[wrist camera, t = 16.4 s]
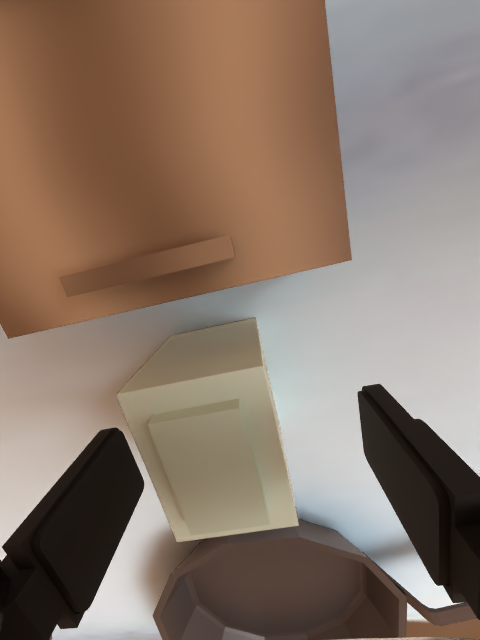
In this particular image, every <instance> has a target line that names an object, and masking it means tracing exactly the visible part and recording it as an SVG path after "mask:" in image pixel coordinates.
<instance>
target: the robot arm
mask: <svg viewBox="0 0 480 640" xmlns="http://www.w3.org/2000/svg"><path fill="white" fill-rule="evenodd" d="M358 402H359V411H360V420H361V430H362V439H363V448H364V453H365V456H366V459H367V461H368V463H369V465H370V467H371V468H372V470H373V472H374V474H375V476H376V478H377V479H378V481H379V483H380V485H381V487H382V489H383V490H384V492H385V494H386V496H387V498H388V500H389V501H390V503H391V505H392V507H393V509H394V511H395V512H396V514H397V516H398V518H399V520H400V522H401V523H402V525H403V527H404V529H405V531H406V533H407V534H408V536H409V538H410V540H411V542H412V544H413V545H414V547H415V549H416V551H417V553H418V555H419V556H420V558H421V560H422V562H423V564H424V566H425V567H426V569H427V571H428V573H429V575H430V576H431V578H432V580H433V581H434V583H435V584H436V585H438V586H440V585H443V586H444V588H445V590H446V592H447V593H448V595H449V597H450V599H451V600H452V602H453V603H461V602H467V603H468V604H469V606H470V607H471V609H472V611H473V612H474V614H475V616H476V617H477V618H478V619H479V620H480V477H479V476H478V475H477V474H476V473H475V472H474V471H473V470H472V469H471V468H470V467H469V466H468V465H467V464H466V463H465V462H464V461H463V460H462V459H461V458H460V457H459V456H458V455H457V454H456V453H455V452H454V451H453V450H452V449H451V448H450V447H449V446H448V445H447V444H446V443H445V442H444V441H443V440H442V439H441V438H440V437H439V436H438V435H437V434H436V433H435V432H434V431H433V430H432V429H431V428H430V427H429V426H428V425H427V424H426V423H425V422H423V421H422V420H420V419H413V418H412V417H411V416H410V415H409V413H408V412H407V411H406V410H405V409H404V408H403V407H402V406H401V405H400V404H399V403H398V402H397V401H396V400H395V399H394V398H393V397H392V396H391V395H390V394H389V393H388V392H387V390H386V389H385V388H384V387H383V386H382V385H380V384H375V385H369V386H363V387H362V391H359V392H358ZM143 489H144V480H143V477H142V475H141V473H140V471H139V468H138V466H137V464H136V461H135V459H134V457H133V455H132V452H131V450H130V448H129V445H128V443H127V441H126V439H125V436H124V434H123V432H122V431H119V429H118V428H110V429H104V430H101V431H100V432H98V434H97V435H96V436H95V437H94V438H93V440H92V441H91V442H90V443H89V444H88V445H87V447H86V448H85V449H84V450H83V451H82V453H81V454H80V455H79V456H78V457H77V459H76V460H75V461H74V462H73V463H72V464H71V466H70V467H69V468H68V469H67V470H66V472H65V473H64V474H63V475H62V476H61V477H60V479H59V480H58V481H57V482H56V483H55V485H54V486H53V487H52V488H51V489H50V491H49V492H48V493H47V494H46V495H45V496H44V498H43V499H42V500H41V501H40V502H39V504H38V505H37V506H36V507H35V508H34V509H33V511H32V512H31V513H30V514H29V515H28V517H27V518H26V519H25V520H24V521H23V523H22V524H21V525H20V526H19V527H18V528H17V530H16V531H15V532H14V533H13V534H12V536H11V537H10V538H9V539H8V540H7V542H6V543H5V544H4V545H3V546H2V548H3V549H4V551H5V552H6V554H7V556H6V557H5V558H4V559H3V561H1V560H0V640H52V632H53V631H54V629H55V627H56V625H58V626H59V627H60V629H67V628H77V627H78V625H79V623H80V621H81V619H82V617H83V614H84V612H85V611H86V610H88V608H89V607H90V606H91V604H92V602H93V600H94V597H95V595H96V593H97V591H98V589H99V586H100V584H101V582H102V580H103V578H104V575H105V573H106V571H107V569H108V567H109V564H110V562H111V560H112V558H113V556H114V553H115V551H116V549H117V547H118V545H119V542H120V540H121V538H122V536H123V534H124V531H125V529H126V527H127V525H128V523H129V520H130V518H131V516H132V514H133V512H134V509H135V507H136V505H137V503H138V501H139V498H140V496H141V494H142V492H143ZM337 640H480V639H463V638H443V637H414V638H366V639H337Z"/></svg>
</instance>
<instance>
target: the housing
mask: <svg viewBox="0 0 480 640" xmlns="http://www.w3.org/2000/svg"><path fill="white" fill-rule="evenodd" d="M350 260H352V259H351V249H350V239H349V230H348V220H347V211H346V201H345V191H344V182H343V172H342V163H341V153H340V144H339V134H338V124H337V115H336V105H335V96H334V86H333V77H332V67H331V57H330V48H329V38H328V29H327V19H326V9H325V0H0V324H1V326H2V328H3V330H4V331H5V333H6V335H7V337H8V339H9V338H13V337H17V336H22V335H26V334H30V333H35V332H39V331H44V330H48V329H52V328H57V327H61V326H65V325H70V324H74V323H79V322H83V321H87V320H92V319H96V318H100V317H105V316H109V315H113V314H118V313H122V312H127V311H131V310H135V309H140V308H144V307H148V306H153V305H157V304H162V303H166V302H170V301H175V300H179V299H183V298H188V297H192V296H197V295H201V294H205V293H210V292H214V291H218V290H223V289H227V288H232V287H236V286H240V285H245V284H249V283H253V282H258V281H262V280H267V279H271V278H275V277H280V276H284V275H288V274H293V273H297V272H302V271H306V270H310V269H315V268H319V267H323V266H328V265H332V264H336V263H341V262H345V261H350Z"/></svg>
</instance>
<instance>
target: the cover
mask: <svg viewBox="0 0 480 640" xmlns="http://www.w3.org/2000/svg"><path fill="white" fill-rule="evenodd" d="M116 397H117V399H118V402H119V404H120V406H121V409H122V411H123V414H124V416H125V418H126V421H127V423H128V426H129V428H130V430H131V433H132V435H133V438H134V440H135V442H136V445H137V447H138V450H139V452H140V454H141V457H142V459H143V462H144V464H145V466H146V469H147V471H148V474H149V476H150V478H151V481H152V483H153V486H154V488H155V490H156V493H157V495H158V498H159V500H160V503H161V505H162V507H163V510H164V512H165V515H166V517H167V519H168V522H169V524H170V527H171V529H172V531H173V534H174V536H175V539H176V541H177V542H183V541H190V540H197V539H205V538H212V537H219V536H227V535H234V534H241V533H249V532H256V531H263V530H270V529H278V528H285V527H292V526H299V523H298V518H297V513H296V508H295V502H294V497H293V492H292V487H291V482H290V477H289V471H288V466H287V461H286V456H285V451H284V446H283V440H282V435H281V430H280V425H279V420H278V415H277V411H276V406H275V402H274V397H273V393H272V388H271V384H270V379H269V375H268V370H267V366H266V361H265V356H264V352H263V347H262V343H261V338H260V334H259V329H258V325H257V320H256V318H251V319H247V320H242V321H237V322H233V323H228V324H223V325H219V326H214V327H209V328H205V329H200V330H195V331H191V332H186V333H181V334H177V335H172V336H170V337H169V338H168V339H167V340H166V341H165V342H164V343H163V344H162V346H161V347H160V348H159V349H158V350H157V351H156V352H155V353H154V354H153V355H152V356H151V357H150V358H149V359H148V361H147V362H146V363H145V364H144V365H143V366H142V367H141V368H140V369H139V370H138V371H137V372H136V373H135V374H134V376H133V377H132V378H131V379H130V380H129V381H128V382H127V383H126V384H125V385H124V386H123V387H122V388H121V389H120V391H119V392H118V393H117V394H116Z"/></svg>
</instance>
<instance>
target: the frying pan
mask: <svg viewBox="0 0 480 640" xmlns="http://www.w3.org/2000/svg"><path fill="white" fill-rule="evenodd" d="M298 523H299V526H292V527H285V528H278V529H270V530H263V531H256V532H249V533H241V534H234V535H227V536H219V537H212V538H208V539H206V540H204V541H203V542H201V543H200V544H199V545H198V546H197V547H196V548H195V549H194V550H193V551H192V552H191V553H190V554H189V555H188V557H187V558H186V559H185V560H184V561H183V562H182V563H181V564H180V565H179V566H178V567H177V568H176V569H175V570H174V572H173V573H172V574H171V575H170V577H169V579H168V582H167V584H166V586H165V589H164V591H163V593H162V595H161V598H160V600H159V602H158V604H157V607H156V609H155V611H154V614H153V618H154V620H155V622H156V625H157V627H158V630H159V632H160V634H161V637H162V639H163V640H337V639H366V638H406V623H407V602H408V603H409V604H410V605H411V606H412V607H413V608H414V609H415V610H417V611H418V612H419V613H420V614H421V615H422V616H423V617H424V618H425V619H426V620H428V621H429V622H431V623H432V624H434V625H439V626H443V625H448V624H453V623H457V622H462V621H467V620H471V619H476V618H477V617H476V616H475V614H474V612H473V611H472V609H471V607H470V606H469V604H468V603H467V602H464V603H460V604H455V605H451V606H446V607H442V608H438V609H433V608H428V607H427V606H425V605H423V604H422V603H420V602H419V601H418V600H417V599H416V598H415V597H414V596H412V595H411V594H410V593H409V592H408V591H407V590H406V589H404V588H403V587H402V586H401V585H400V584H399V583H397V582H396V581H395V580H394V579H393V578H392V577H391V576H389V575H388V574H387V573H386V572H385V571H384V570H383V569H381V568H380V567H379V566H378V565H377V564H376V563H374V562H373V561H372V560H371V559H370V558H369V557H368V556H366V555H365V554H364V553H363V552H361V551H360V550H359V549H358V548H356V547H355V546H354V545H353V544H351V543H350V542H349V541H348V540H347V539H345V538H344V537H343V536H342V535H341V534H339V533H338V532H337V531H335V530H332V529H329V528H326V527H322V526H319V525H316V524H313V523H310V522H306V521H303V520H300V519H298Z"/></svg>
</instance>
